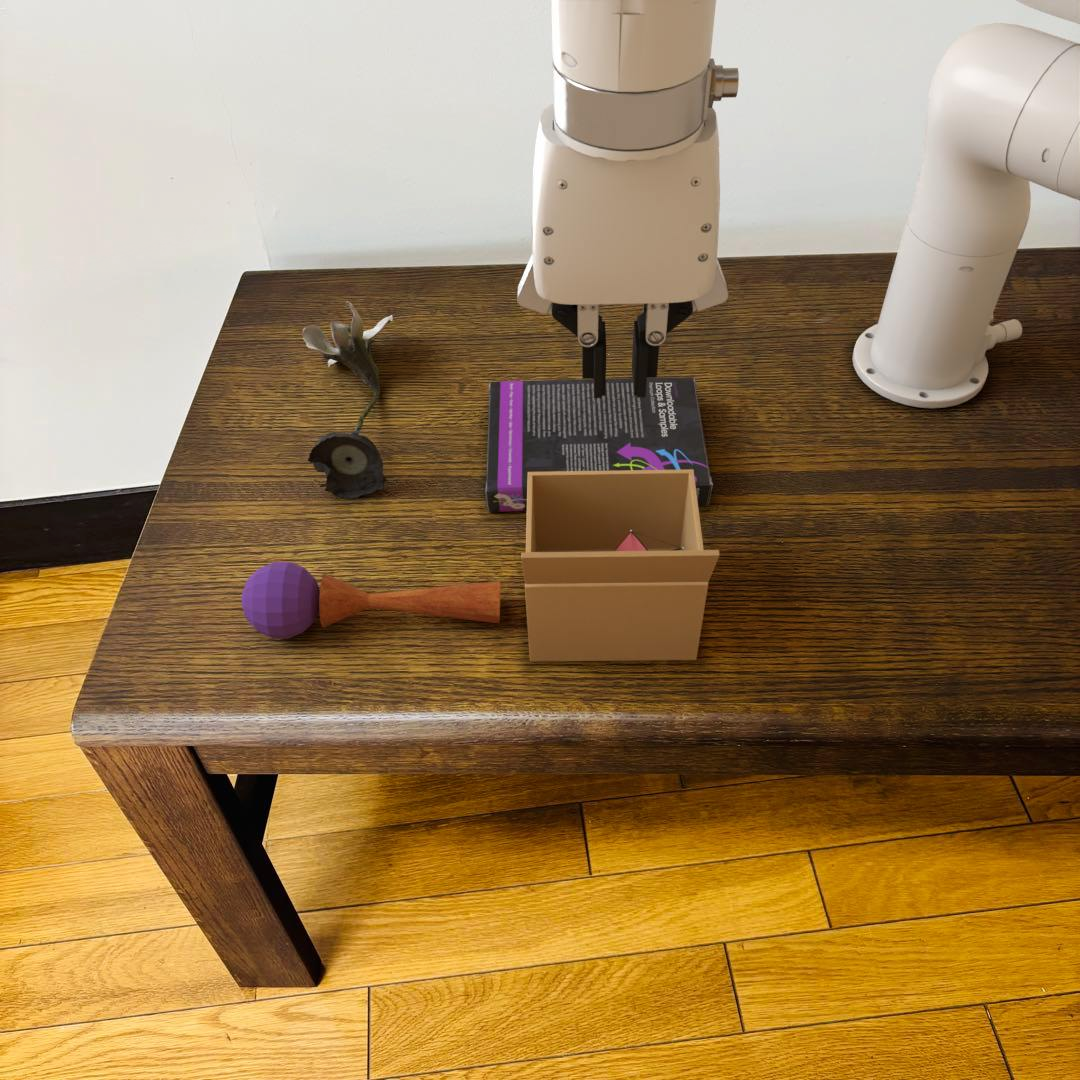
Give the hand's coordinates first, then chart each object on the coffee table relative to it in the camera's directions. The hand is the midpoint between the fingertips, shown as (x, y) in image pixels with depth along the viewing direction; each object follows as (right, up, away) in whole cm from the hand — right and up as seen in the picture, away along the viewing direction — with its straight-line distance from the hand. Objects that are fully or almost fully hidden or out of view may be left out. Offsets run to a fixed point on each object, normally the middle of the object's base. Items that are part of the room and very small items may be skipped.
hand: (618, 381), depth 63 cm
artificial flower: (-23, +2, +33) cm, 41 cm away
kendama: (-18, -16, +17) cm, 30 cm away
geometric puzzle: (+1, -14, +16) cm, 21 cm away
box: (0, -2, +29) cm, 29 cm away
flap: (0, -12, +4) cm, 12 cm away
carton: (+1, -15, +18) cm, 23 cm away
